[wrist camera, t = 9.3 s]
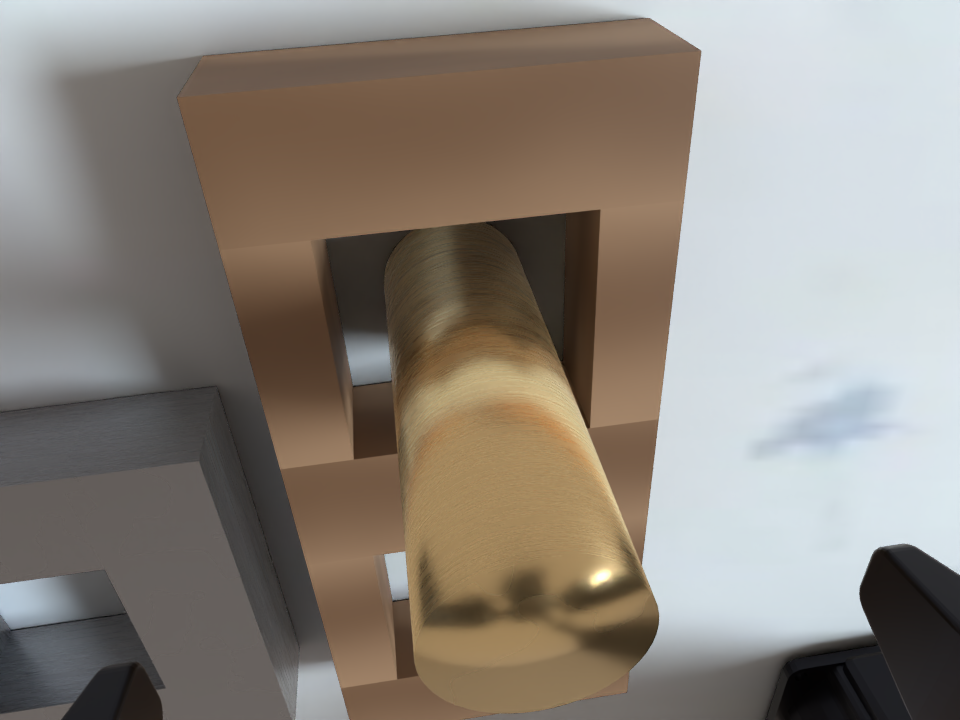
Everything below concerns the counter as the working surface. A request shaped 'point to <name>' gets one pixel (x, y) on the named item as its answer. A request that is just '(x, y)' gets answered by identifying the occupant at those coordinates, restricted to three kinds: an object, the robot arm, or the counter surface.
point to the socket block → (143, 558)
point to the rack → (434, 203)
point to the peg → (502, 489)
